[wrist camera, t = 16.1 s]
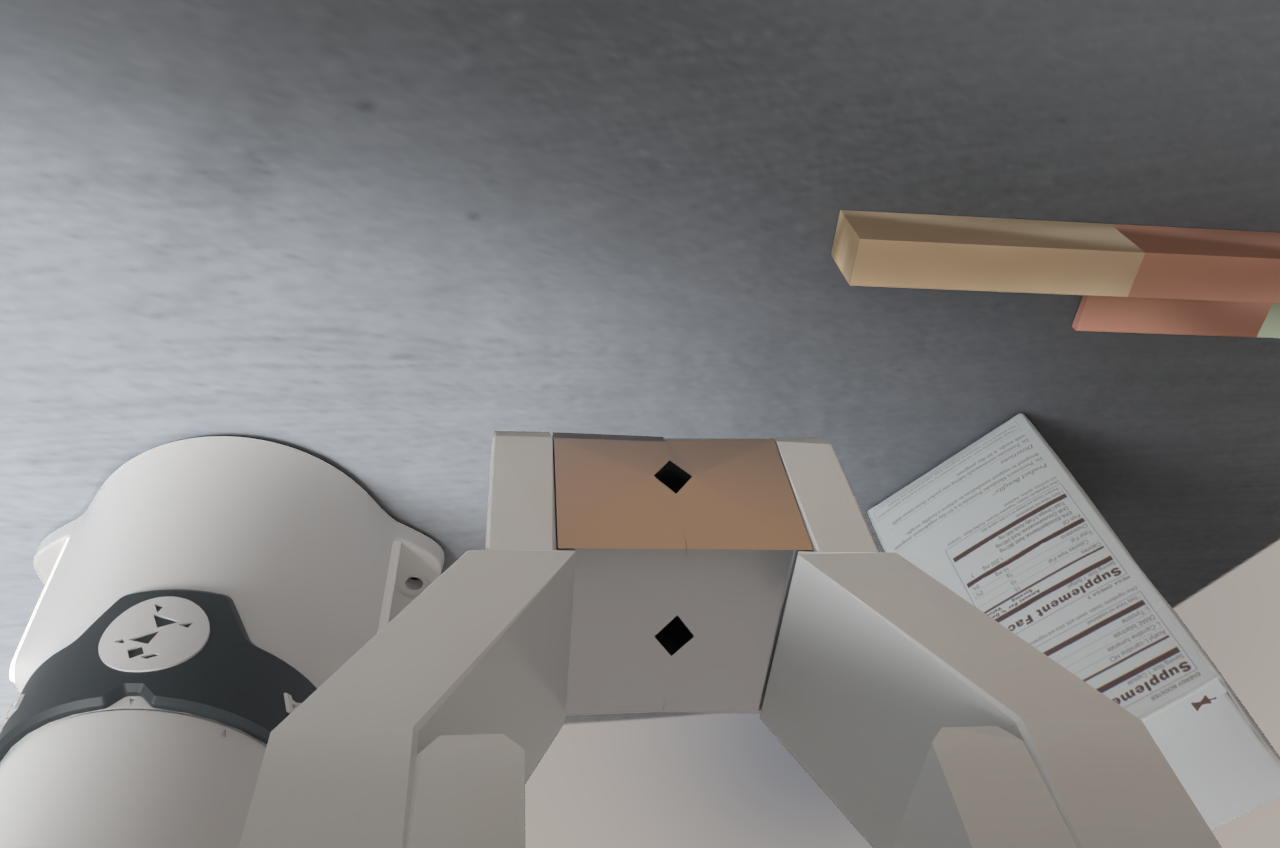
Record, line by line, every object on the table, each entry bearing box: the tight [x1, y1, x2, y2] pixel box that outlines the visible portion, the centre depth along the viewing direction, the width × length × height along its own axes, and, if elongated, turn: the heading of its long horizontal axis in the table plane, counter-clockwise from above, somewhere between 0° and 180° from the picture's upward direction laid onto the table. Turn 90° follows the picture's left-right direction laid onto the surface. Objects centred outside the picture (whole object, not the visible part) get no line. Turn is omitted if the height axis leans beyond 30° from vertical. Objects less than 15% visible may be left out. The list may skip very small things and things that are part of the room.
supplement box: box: [868, 413, 1280, 830], centre depth 45 cm, size 10×9×17 cm
